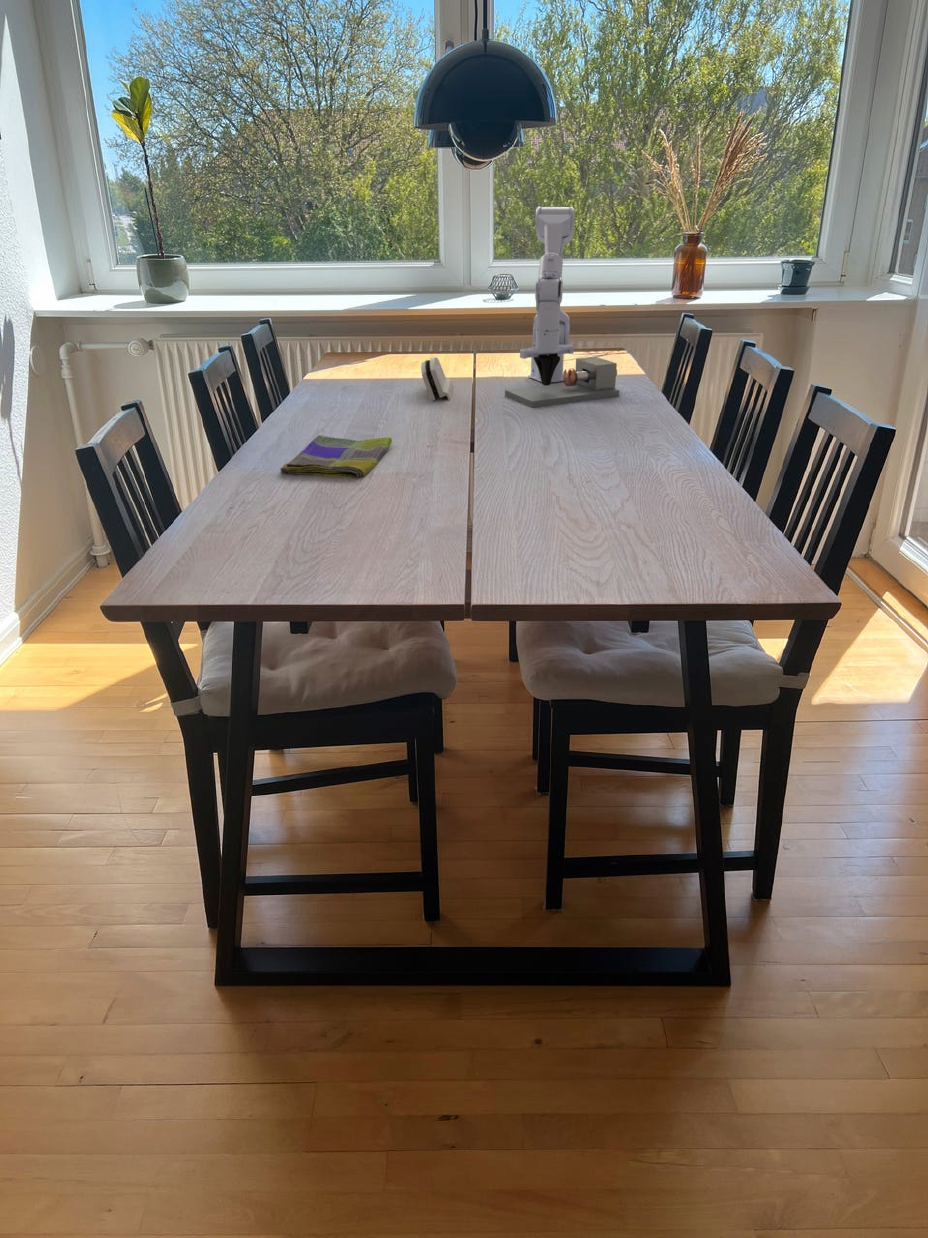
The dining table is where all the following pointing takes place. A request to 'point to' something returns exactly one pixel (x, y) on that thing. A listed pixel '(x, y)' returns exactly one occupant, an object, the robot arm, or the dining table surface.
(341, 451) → the dish towel
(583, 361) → the bearing block
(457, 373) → the dining table surface
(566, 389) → the base plate
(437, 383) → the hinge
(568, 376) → the shaft
